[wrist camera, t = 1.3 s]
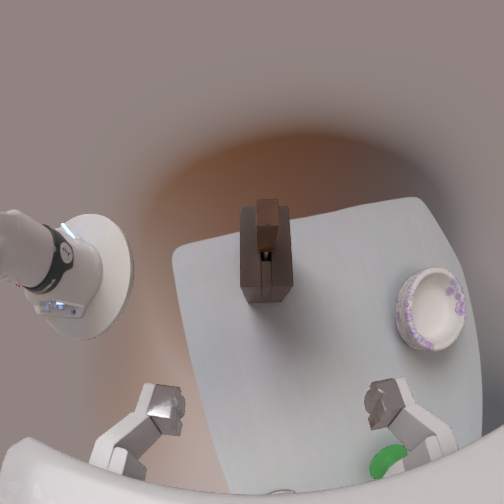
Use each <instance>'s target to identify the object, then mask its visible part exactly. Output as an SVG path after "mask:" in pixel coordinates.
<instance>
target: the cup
mask: <svg viewBox="0 0 504 504" xmlns="http://www.w3.org/2000/svg"><path fill="white" fill-rule="evenodd" d="M406 455H408V454H407V450H406V448H405V447H404V446H401V445H392V446H389V447H387V448H385V449H383V450H382V451H380V452H379V453H378V454H377V455H376V456H375V458H374V459H373V460H372V462H371V465H370V468H369V469H370V474H371V475H372V476H373V477H374V478H375V479H381V478H384V477H388V476H391V475H395V474H398V473H401V472H404V471H405V469H404V465H403V461H402V460H403V458H404V457H405V456H406Z"/></svg>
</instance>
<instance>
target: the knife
mask: <svg viewBox="0 0 504 504" xmlns="http://www.w3.org/2000/svg"><path fill="white" fill-rule="evenodd" d="M255 205H256V236H257V252H263V261H267V259H268V252H275V249H276V243H277V237H278V231H279V209H278V199H256V200H255Z"/></svg>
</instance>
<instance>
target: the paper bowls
mask: <svg viewBox="0 0 504 504" xmlns="http://www.w3.org/2000/svg"><path fill="white" fill-rule="evenodd" d="M465 316H466V302H465V297H464V293H463V290H462V287H461V285H460V283H459V282H458V280H457V279H456V278H455V277H454V276H453V275H452V274H451V273H450V272H449V271H447V270H445V269H442V268H437V267H434V268H429V269H426V270H424V271H421V272H419V273H417V274H414V275H413V276H411V277H410V278H409V279H408V280H407V281H406V282H405V283H404V284H403V286H402V287H401V289H400V291H399V293H398V296H397V300H396V305H395V319H396V325H397V328H398V331H399V333H400V335H401V337H402V338H403V340H404V341H405V342H406V343H407V344H408V345H409V346H410V347H412V348H414V349H416V350H422V351H441V350H443V349H446V348H447V347H449V346H450V345H451V344H452V343H453V342H454V341H455V340H456V339H457V338H458V336H459V334H460V332H461V330H462V328H463V325H464V321H465Z"/></svg>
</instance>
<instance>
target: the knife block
mask: <svg viewBox="0 0 504 504" xmlns="http://www.w3.org/2000/svg"><path fill="white" fill-rule="evenodd" d="M278 209H279V231H278V237H277V243H276V249H275V252H268V259H267V261H263V252H257V236H256V206H249V207H248V206H247V207H240V287H241V289H242V291H243V293H244V296H245V298H246V300H247V302H248V303H272V302H282V301H283V299H284V298H285V296H286V295H287V294H288V292H289V291H290V289H291V288H292V286H293V269H292V252H291V236H290V222H289V209H288V206H278Z"/></svg>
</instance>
